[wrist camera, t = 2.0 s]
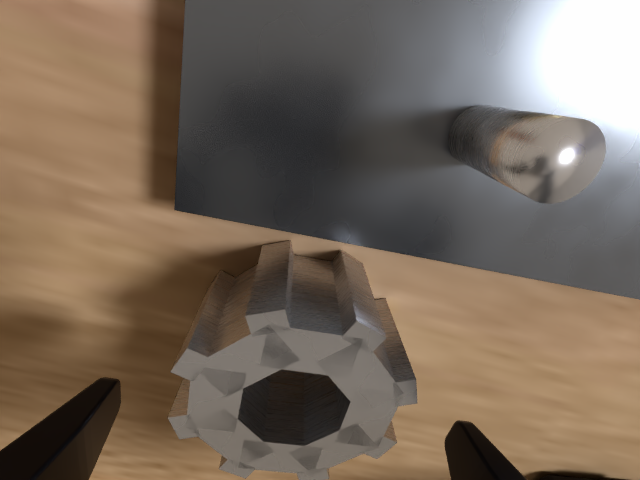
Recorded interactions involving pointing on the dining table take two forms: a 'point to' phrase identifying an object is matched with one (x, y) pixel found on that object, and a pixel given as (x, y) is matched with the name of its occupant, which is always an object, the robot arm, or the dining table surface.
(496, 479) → the robot arm
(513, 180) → the plate
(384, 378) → the planet gear
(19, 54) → the dining table surface
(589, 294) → the dining table surface
